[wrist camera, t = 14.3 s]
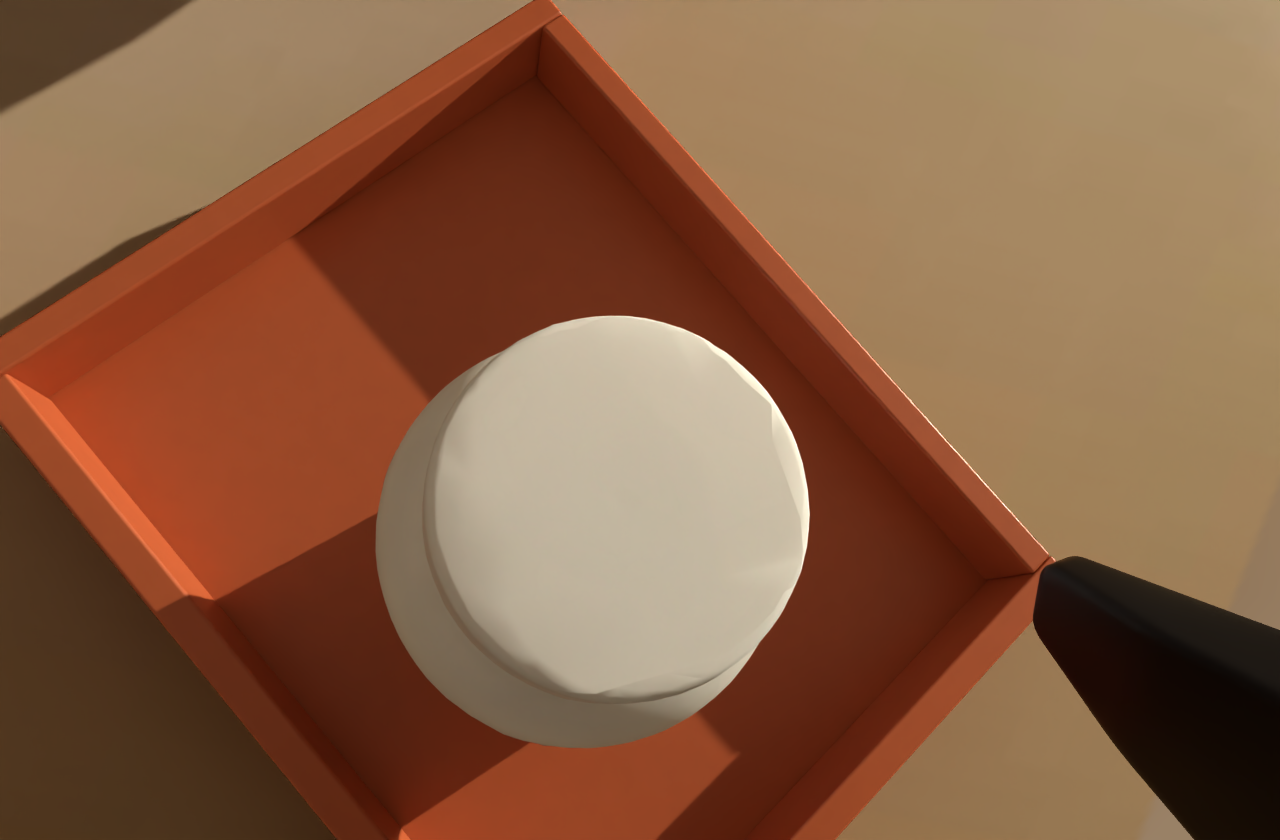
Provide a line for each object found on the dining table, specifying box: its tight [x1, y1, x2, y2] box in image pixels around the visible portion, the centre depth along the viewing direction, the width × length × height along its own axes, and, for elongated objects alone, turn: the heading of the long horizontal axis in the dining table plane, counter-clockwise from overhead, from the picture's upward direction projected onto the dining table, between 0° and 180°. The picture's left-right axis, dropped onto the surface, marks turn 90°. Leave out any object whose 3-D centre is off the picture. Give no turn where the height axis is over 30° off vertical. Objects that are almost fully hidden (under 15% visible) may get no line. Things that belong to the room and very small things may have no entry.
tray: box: [0, 0, 1057, 840], centre depth 18 cm, size 16×13×3 cm
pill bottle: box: [376, 316, 810, 748], centre depth 14 cm, size 5×5×10 cm
